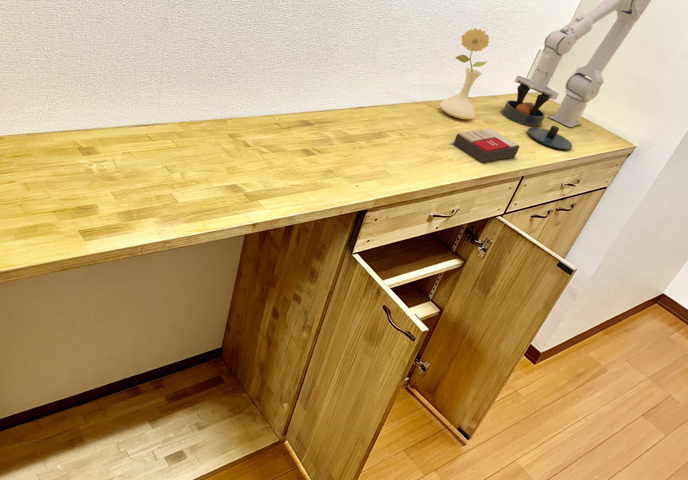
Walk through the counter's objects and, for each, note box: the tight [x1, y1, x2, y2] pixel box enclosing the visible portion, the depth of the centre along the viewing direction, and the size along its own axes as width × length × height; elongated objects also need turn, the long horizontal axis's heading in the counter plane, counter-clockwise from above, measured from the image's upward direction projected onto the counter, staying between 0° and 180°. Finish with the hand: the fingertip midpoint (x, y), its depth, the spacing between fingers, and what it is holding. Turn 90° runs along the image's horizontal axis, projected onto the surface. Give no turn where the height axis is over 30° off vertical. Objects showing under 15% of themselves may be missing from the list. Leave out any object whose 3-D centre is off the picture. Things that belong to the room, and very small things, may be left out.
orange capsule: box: [515, 101, 535, 115], centre depth 189 cm, size 9×5×5 cm, turn 135°
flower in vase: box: [439, 27, 490, 120], centre depth 171 cm, size 13×11×25 cm
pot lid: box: [527, 125, 573, 150], centre depth 177 cm, size 14×14×4 cm
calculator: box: [452, 128, 520, 164], centre depth 157 cm, size 11×4×15 cm
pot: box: [501, 99, 546, 128], centre depth 190 cm, size 13×13×3 cm
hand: (524, 111), depth 189 cm, fingers closed on orange capsule, 5 cm apart
